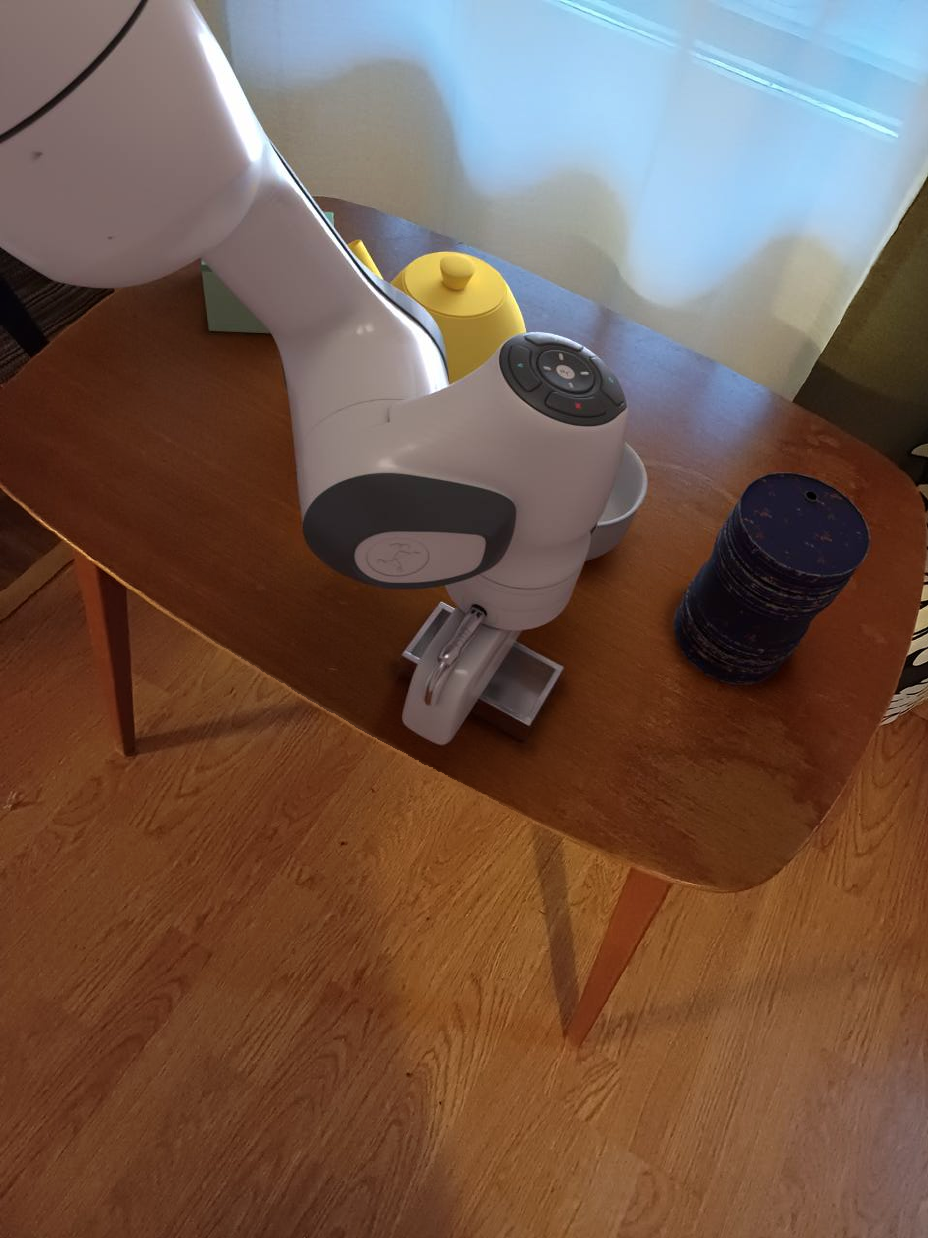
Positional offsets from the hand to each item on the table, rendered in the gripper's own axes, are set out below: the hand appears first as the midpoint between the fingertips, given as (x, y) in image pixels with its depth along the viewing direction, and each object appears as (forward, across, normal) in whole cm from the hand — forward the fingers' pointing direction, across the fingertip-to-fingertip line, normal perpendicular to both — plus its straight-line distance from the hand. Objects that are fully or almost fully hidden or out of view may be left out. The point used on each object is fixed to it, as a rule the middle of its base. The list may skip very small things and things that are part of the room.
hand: (481, 669), depth 71 cm
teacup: (+2, +18, +2) cm, 18 cm away
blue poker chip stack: (+2, +16, -16) cm, 22 cm away
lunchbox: (+2, +28, +40) cm, 48 cm away
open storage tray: (+2, 0, 0) cm, 2 cm away
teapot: (+2, +28, +21) cm, 35 cm away
